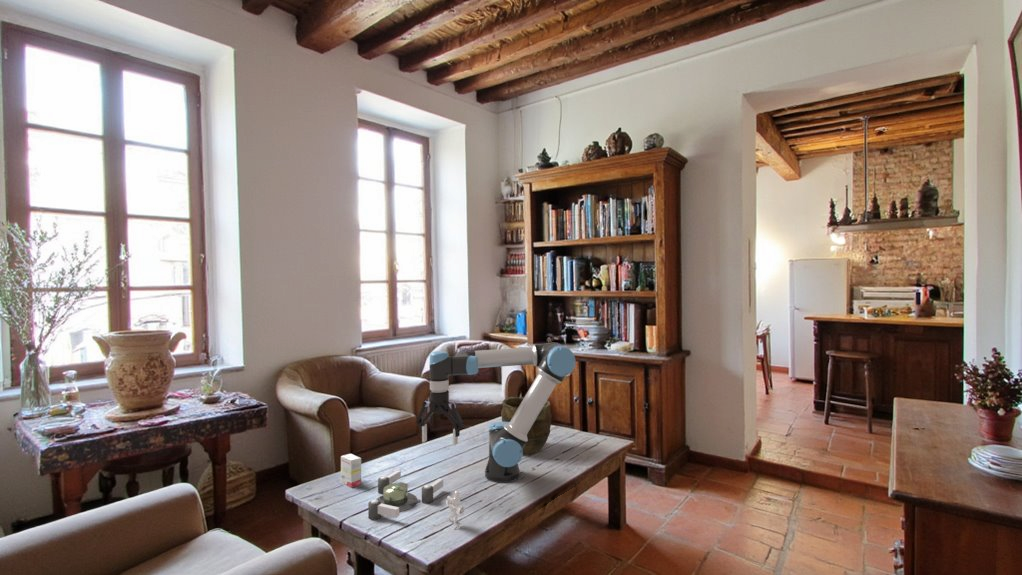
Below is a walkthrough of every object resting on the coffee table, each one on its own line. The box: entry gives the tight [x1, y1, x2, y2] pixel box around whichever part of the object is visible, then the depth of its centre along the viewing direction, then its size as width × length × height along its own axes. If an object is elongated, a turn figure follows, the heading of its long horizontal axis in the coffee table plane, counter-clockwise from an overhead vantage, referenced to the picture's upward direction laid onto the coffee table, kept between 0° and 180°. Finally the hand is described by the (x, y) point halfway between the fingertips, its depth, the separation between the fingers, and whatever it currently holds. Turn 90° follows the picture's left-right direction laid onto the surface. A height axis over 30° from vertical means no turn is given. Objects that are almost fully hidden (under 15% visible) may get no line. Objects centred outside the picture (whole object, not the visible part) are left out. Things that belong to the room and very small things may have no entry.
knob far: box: [377, 470, 402, 495], centre depth 196 cm, size 12×4×6 cm, turn 156°
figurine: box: [445, 490, 466, 530], centre depth 167 cm, size 5×9×12 cm, turn 57°
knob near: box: [421, 478, 444, 505], centre depth 188 cm, size 12×4×6 cm, turn 156°
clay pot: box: [500, 396, 553, 456], centre depth 241 cm, size 25×25×25 cm
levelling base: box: [375, 482, 421, 513], centre depth 180 cm, size 26×23×7 cm
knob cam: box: [367, 499, 400, 521], centre depth 170 cm, size 12×4×6 cm, turn 66°
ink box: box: [340, 453, 362, 489], centre depth 201 cm, size 9×5×12 cm, turn 49°
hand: (439, 443), depth 193 cm, fingers open, 13 cm apart
